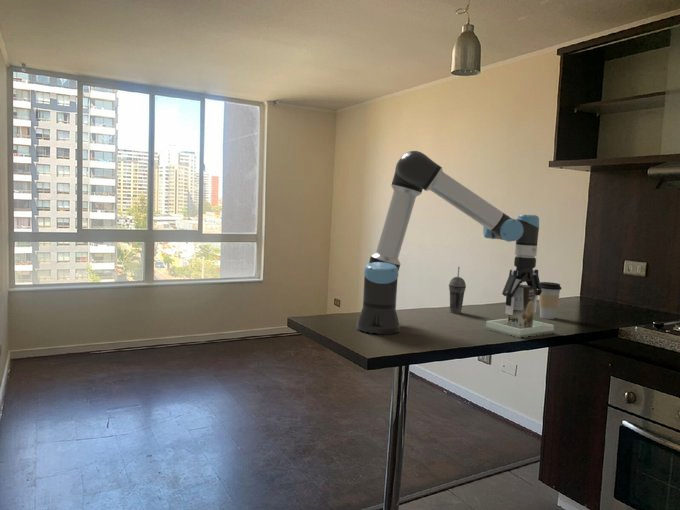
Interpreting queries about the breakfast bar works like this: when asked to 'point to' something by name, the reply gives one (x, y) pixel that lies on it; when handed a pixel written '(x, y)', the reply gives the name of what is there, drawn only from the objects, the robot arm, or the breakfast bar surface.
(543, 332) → the sage tray
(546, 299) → the coffee cup
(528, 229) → the robot arm
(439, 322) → the breakfast bar surface
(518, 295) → the coffee box
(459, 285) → the beverage cup
